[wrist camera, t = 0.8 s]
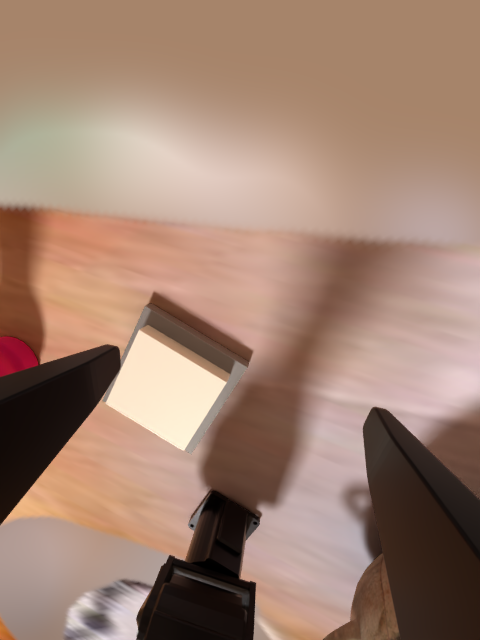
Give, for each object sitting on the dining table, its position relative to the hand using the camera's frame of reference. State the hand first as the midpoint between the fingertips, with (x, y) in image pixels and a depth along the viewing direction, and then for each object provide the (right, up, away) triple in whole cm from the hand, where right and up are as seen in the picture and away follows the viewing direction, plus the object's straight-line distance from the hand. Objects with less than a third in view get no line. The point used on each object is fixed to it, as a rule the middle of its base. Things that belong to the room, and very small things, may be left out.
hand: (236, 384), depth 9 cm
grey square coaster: (-7, -4, +18) cm, 19 cm away
